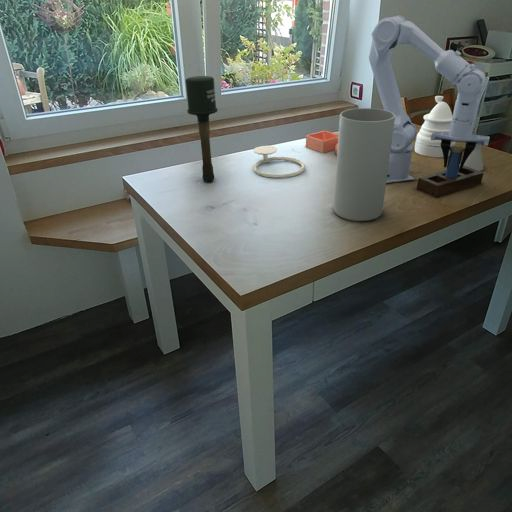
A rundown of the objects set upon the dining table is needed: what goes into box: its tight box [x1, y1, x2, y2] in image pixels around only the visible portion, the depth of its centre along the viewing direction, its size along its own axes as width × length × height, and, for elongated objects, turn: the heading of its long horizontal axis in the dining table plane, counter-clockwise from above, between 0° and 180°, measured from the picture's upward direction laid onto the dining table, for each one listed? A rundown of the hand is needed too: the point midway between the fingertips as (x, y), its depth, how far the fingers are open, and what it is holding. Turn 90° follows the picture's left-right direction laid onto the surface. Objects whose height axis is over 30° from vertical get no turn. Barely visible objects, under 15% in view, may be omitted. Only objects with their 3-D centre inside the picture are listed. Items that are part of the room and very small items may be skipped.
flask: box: [460, 144, 484, 172], centre depth 136 cm, size 7×7×10 cm
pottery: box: [305, 130, 339, 156], centre depth 155 cm, size 18×10×10 cm, turn 36°
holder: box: [416, 165, 485, 199], centre depth 126 cm, size 7×18×4 cm, turn 119°
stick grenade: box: [184, 75, 218, 183], centre depth 128 cm, size 8×9×30 cm
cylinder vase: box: [333, 107, 395, 222], centre depth 108 cm, size 12×12×25 cm
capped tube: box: [445, 145, 465, 179], centre depth 123 cm, size 4×4×9 cm
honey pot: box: [413, 95, 456, 158], centre depth 149 cm, size 13×13×18 cm
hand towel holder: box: [252, 145, 306, 179], centre depth 143 cm, size 17×4×21 cm
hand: (453, 167), depth 124 cm, fingers closed on capped tube, 3 cm apart
